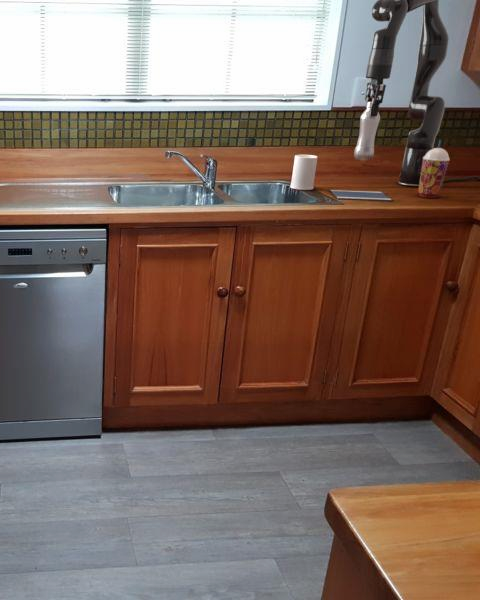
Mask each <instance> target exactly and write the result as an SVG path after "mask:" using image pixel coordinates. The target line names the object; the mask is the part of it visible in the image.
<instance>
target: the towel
mask: <svg viewBox="0 0 480 600" xmlns="http://www.w3.org/2000/svg"><path fill="white" fill-rule="evenodd" d="M329 191H330V193H331V194H333V196H335V198H336V199H337V200H346V201H347V200H349V201H372V202H373V201H377V202H393V199H391V198H390V197H389V196H388V195H386V194H385V193H384V192H382V191H378V190H377V191H376V190H375V191H374V190H350V189H349V190H347V189H329Z"/></svg>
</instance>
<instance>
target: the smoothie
mask: <svg viewBox="0 0 480 600" xmlns="http://www.w3.org/2000/svg"><path fill="white" fill-rule="evenodd" d="M441 144H442V139H439V141H438V145H437V147H433V149H431V150H430V151H428V152H427V153H426V155H425V156H424V157H423V162H422V169H421V175H420V182H419V187H418V190H417V192H418V196H419V197H421V198H425V199H436V198H437V197H438V196H439V195H440V193H441V191H442V190H441V189H442V186H443V180H445V176H446V173H447V170H448V167H449V163H450V160H451V159H450V156H449V153H448V151H447V150H446V149H444V148H442V147H441Z"/></svg>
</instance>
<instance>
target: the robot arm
mask: <svg viewBox="0 0 480 600" xmlns="http://www.w3.org/2000/svg"><path fill="white" fill-rule="evenodd" d="M439 5H440V0H377V1H376V2H375V3H374V4H373V6H372V7H371V16H372V18H373V20H375V21H377V22H380V23H381V22H388V23H387V25H386V26H385V27H384V28H381V29H377V30H375V32H374V33H373V37H372V42H371V43H372V44H371V49H370V52H369V55H368V61H367V67H366V71H365V78H366V79H370V82H367V83H366V88H365V89H366V91H365V96H364V101H365V103H366V105H365V110H366V109H367V107H366V106H367V102H368V101H372V107H371V112H370V116H377V115H378V112H379V108H380V105H381V104H383V100H384V96H385V91H386V88H387V85H386V84H384V80H385V79H386V80H388V79H390V78H391V74H392V73H391V72H392V68H393V64H394V59H395V57H394V56H395V47H396V42H397V36H398V34H399V32H400V30H401V27H402V24H403V23H404V21H405V18H406V17H407V14H408V13H411V12H412V11H414V10H416V9H418V8H420V7H422V20H421V31H420V37H419V43H418V51H417V60H416V62H417V63H416V68H415V74H414V75H415V76H414V81H413V86H412V90H411V94H410V99H409V104H408V117H409V118H410V119H411V120H413V121H417V122H422V123H421V126H420V127H419V128H417V129H414V130H411V131H409V132H408V135H407V140H406V144H405V150H404V154H403V158H402V159H403V160H402V163H401V169H400V173H399V178H398V182H397V183H398V185H401V186H405V187H412V188H419V182H420V175H421V169H422V162H423V157H424V156H425V155H426V153H427V152H428V151H430V150H431V149H434V145H435V140H436V138H437V135H438V133H439V132H440V129H441V125H442V120H443V118H444V115H445V114H444V113H445V110H446V109H445V108H446V102H445V99H444V98H443V97H442V96H437V95H429V90H430V85H431V82H432V80H433V78H434V77H435V75H436V73H437V72H438V71H439V69H440V68H441V67H442V65H443V64H444V62H445V60H446V58H447V55H448V48H449V40H450V37H449V32H448V30H447V28H446V26H445V24H444V22H443V20H442V18H441V16H440V10H439V9H440V8H439ZM472 179H475V180H477V181H479V182H480V177H479V176H477V175H472V176H471V175H470V176H468V177H459V178H458V177H457V178H455V177H454V178H447V179H444V180H443V183H447V182H458V181H460V182H461V181H468V180H472ZM443 183H442V184H443Z"/></svg>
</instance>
